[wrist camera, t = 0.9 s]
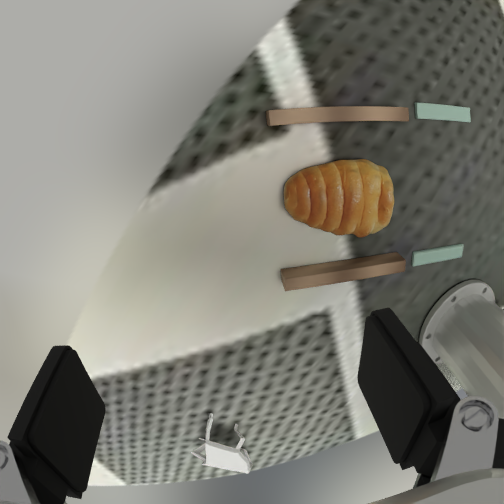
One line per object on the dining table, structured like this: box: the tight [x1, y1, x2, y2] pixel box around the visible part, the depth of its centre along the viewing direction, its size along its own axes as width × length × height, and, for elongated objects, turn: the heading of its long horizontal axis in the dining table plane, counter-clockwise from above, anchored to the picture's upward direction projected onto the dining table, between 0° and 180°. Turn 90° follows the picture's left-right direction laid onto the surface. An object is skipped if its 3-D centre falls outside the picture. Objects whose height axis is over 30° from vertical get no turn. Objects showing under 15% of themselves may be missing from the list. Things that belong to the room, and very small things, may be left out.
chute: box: [266, 106, 409, 291], centre depth 27 cm, size 12×15×2 cm
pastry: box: [284, 159, 394, 237], centre depth 26 cm, size 9×7×4 cm
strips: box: [411, 103, 470, 266], centre depth 28 cm, size 7×16×1 cm, turn 6°
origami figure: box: [190, 413, 253, 474], centre depth 38 cm, size 12×8×5 cm
